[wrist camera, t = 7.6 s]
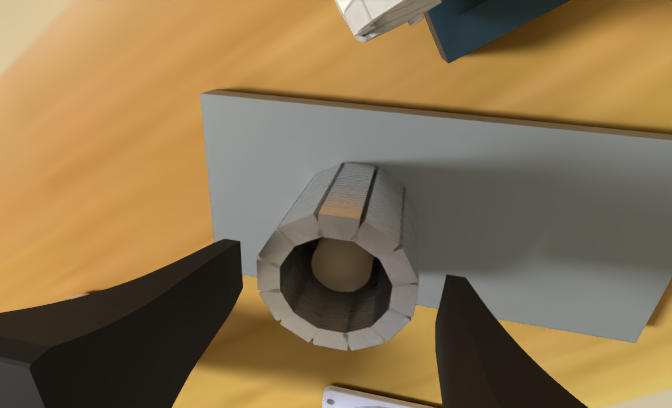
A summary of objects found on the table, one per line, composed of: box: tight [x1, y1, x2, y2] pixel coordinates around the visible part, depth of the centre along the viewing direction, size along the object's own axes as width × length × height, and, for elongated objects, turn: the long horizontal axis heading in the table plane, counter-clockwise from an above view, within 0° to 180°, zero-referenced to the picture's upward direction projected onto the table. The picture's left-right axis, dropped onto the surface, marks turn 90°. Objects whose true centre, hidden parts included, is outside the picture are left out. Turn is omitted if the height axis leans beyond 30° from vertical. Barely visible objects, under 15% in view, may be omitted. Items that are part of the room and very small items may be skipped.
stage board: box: [200, 90, 672, 343], centre depth 16 cm, size 9×20×1 cm, turn 87°
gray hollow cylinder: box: [256, 162, 419, 351], centre depth 14 cm, size 5×5×5 cm
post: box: [311, 237, 374, 292], centre depth 15 cm, size 2×2×4 cm
